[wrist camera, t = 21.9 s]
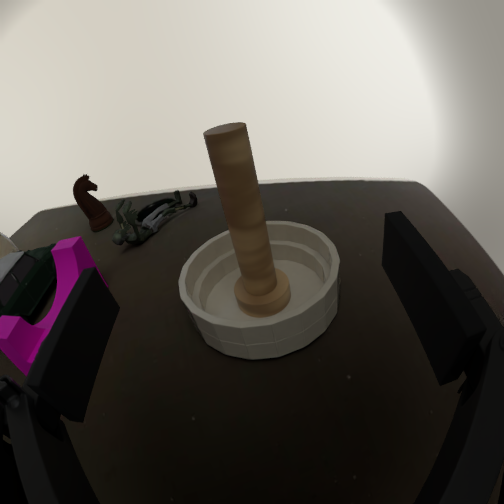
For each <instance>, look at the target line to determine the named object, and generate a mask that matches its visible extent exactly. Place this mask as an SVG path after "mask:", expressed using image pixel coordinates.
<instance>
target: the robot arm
mask: <svg viewBox="0 0 504 504" xmlns="http://www.w3.org/2000/svg"><path fill="white" fill-rule="evenodd" d="M382 266H383V268H384V270H385V272H386V274H387V276H388V277H389V279H390V281H391V283H392V285H393V287H394V289H395V290H396V292H397V294H398V296H399V298H400V300H401V302H402V304H403V306H404V308H405V310H406V312H407V314H408V316H409V318H410V320H411V322H412V324H413V326H414V328H415V330H416V332H417V335H418V337H419V339H420V341H421V343H422V345H423V348H424V350H425V352H426V354H427V357H428V359H429V361H430V363H431V366H432V368H433V370H434V373H435V375H436V378H437V380H438V383H439V385H440V386H441V385H444V384H446V383H449V382H452V381H454V380H456V379H458V378H459V376H460V375H461V373H462V372H463V370H464V372H465V374H466V376H467V378H466V380H465V381H464V382H463V384H462V385H461V387H460V388H459V390H458V392H457V393H459V394H460V392H461V391H462V393H461V396H460V399H459V402H458V405H457V408H456V411H455V414H454V417H453V420H452V422H451V425H450V428H449V430H448V433H447V435H446V438H445V440H444V443H443V445H442V448H441V450H440V452H439V455H438V457H437V459H436V461H435V463H434V465H433V468H432V470H431V472H430V474H429V476H428V478H427V480H426V482H425V484H424V486H423V487H422V489H421V491H420V493H419V495H418V497H417V498H416V500H415V502H414V504H487V503H488V500H489V498H490V495H491V493H492V491H493V488H494V486H495V483H496V480H497V478H498V475H499V472H500V469H501V466H502V463H503V460H504V327H503V326H502V325H501V323H500V322H499V320H498V318H497V317H496V315H495V314H494V312H493V311H492V309H491V308H490V306H489V305H488V303H487V302H486V300H485V299H484V297H482V296H481V293H480V292H479V290H478V289H476V286H475V285H474V283H473V282H472V281H471V279H470V278H469V277H468V276H467V275H466V274H464V273H463V272H462V271H460V270H459V269H455V270H451V271H448V269H447V268H446V267H445V265H444V264H443V262H442V261H441V260H440V259H439V257H438V256H437V255H436V253H435V252H434V251H433V249H432V248H431V247H430V246H429V244H428V243H427V242H426V241H425V239H424V238H423V237H422V236H421V234H420V233H419V232H418V231H417V230H416V228H415V227H414V226H413V225H412V224H411V222H410V221H409V220H408V219H407V218H406V217H405V215H404V214H403V213H402V212H401V211H398V212H392V213H385V225H384V242H383V256H382ZM119 309H120V307H119V305H118V304H117V302H116V301H115V299H114V297H113V296H112V294H111V293H110V291H109V289H108V288H107V286H106V284H105V283H104V281H103V279H102V277H101V276H100V274H99V272H98V270H97V269H96V267H91V268H86V269H83V271H82V272H81V274H80V276H79V278H78V279H77V281H76V283H75V284H74V286H73V288H72V290H71V292H70V293H69V295H68V297H67V299H66V301H65V302H64V304H63V306H62V308H61V310H60V312H59V314H58V316H57V318H56V320H55V322H54V324H53V326H52V328H51V330H50V332H49V334H48V335H47V336H46V337H45V339H44V340H43V341H42V343H41V345H40V347H39V349H38V353H37V354H36V356H35V358H34V359H35V360H33V363H32V365H31V367H30V370H29V372H28V374H27V377H26V379H25V382H24V384H23V386H22V388H21V387H20V386H19V385H18V384H17V383H16V382H15V381H14V380H13V379H12V378H11V377H10V376H8V375H3V376H1V377H0V504H100V503H99V501H98V499H97V497H96V495H95V493H94V491H93V489H92V487H91V485H90V483H89V481H88V479H87V477H86V475H85V473H84V471H83V469H82V467H81V464H80V462H79V460H78V458H77V455H76V453H75V450H74V448H73V446H72V443H71V440H70V438H69V435H68V433H67V430H66V427H65V424H64V423H63V421H62V420H60V416H61V414H62V415H63V416H65V417H66V418H67V419H69V420H70V421H75V422H81V423H83V421H84V417H85V413H86V410H87V406H88V402H89V399H90V395H91V392H92V389H93V385H94V382H95V379H96V375H97V372H98V369H99V366H100V363H101V360H102V357H103V354H104V351H105V348H106V345H107V342H108V339H109V336H110V334H111V331H112V328H113V325H114V323H115V320H116V317H117V315H118V312H119ZM3 434H4V435H5V436H7V437H8V438H10V439H11V444H8V443H7V442H5V441H4V440H3ZM498 504H504V473H503V479H502V485H501V491H500V496H499V500H498Z"/></svg>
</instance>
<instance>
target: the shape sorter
mask: <svg viewBox="0 0 504 504" xmlns="http://www.w3.org/2000/svg"><path fill="white" fill-rule="evenodd" d="M17 251H19V250H18V248H17V247H16V246H15V244H14V243H13V242H12V241H11V240H10V239H9V238H8V237H6V236H5V235H4V234H2V233H0V259H1V258H3V257H4V256H6V255H8V254H10V253H13V252H17Z"/></svg>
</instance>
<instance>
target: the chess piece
mask: <svg viewBox="0 0 504 504" xmlns="http://www.w3.org/2000/svg"><path fill="white" fill-rule="evenodd" d="M88 179H89V176H87V174H86V175H83V176H82V177H80V178H79V179H78V180H77V181H76V182H75V184H74V187H73V194H74V198H75V200H76V202H77V204H78V205H79V207H80V208H81V209H82V211H83V212H84V213H85V215H86V216H87V217H88V219H89V225H90V227H91V230H92V231H93V232H97V231H101V230H103V229H105V228H106V227H108V226H109V225H110V224H111V223H112V222H113V218H112V216H111V214H110V213H109V212H108V211H107V209H106V208H105V207H104V205H103V204H102V203H101V202H100V201H99V200H97V199H96V198H95V197H93V196H92V195H90V194H89V193H88V192H87V191H91V190H93V191H97V189H96V188H97V185H96V184H94V183H92V182H91V181H89V180H88Z"/></svg>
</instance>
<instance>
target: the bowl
mask: <svg viewBox="0 0 504 504" xmlns="http://www.w3.org/2000/svg"><path fill="white" fill-rule="evenodd" d="M266 225H267V231H268V236H269V241H270V246H271V251H272V257H273V262H274V267H275V268H277V269H280V270H282V271H283V272H284V273H285V274H286V275H287V277H288V279H289V284H290V291H291V298H290V301H289V303H288V305H287V306H286V307H285V308H284V309H283V310H282V311H280V312H279V313H277V314H275V315H272V316H269V317H263V318H258V317H251V316H249V315H246V314H245V313H243V312H242V311H241V310H240V308H239V306H238V303H237V300H236V297H235V294H234V285H235V283H236V281H237V280H238V278H239V277H240V276H241V272H240V268H239V265H238V261H237V258H236V254H235V250H234V247H233V243H232V240H231V236H230V232H229V230H228V231H225V232H223V233H221V234H219V235H217V236H216V237H214V238H212V239H210V240H208V241H207V242H206V243H205V244H203V245H202V246H201V247H200V248H198V249H197V250H196V251H195V252H194V253H193V254H192V255H191V257H190V258H189V259H188V261H187V262H186V263H185V265H184V266H183V269H182V272H181V275H180V278H179V281H178V284H179V290H180V297H181V300H182V302H183V304H184V306H185V308H186V310H187V312H188V314H189V316H190V318H191V320H192V322H193V324H194V326H195V328H196V330H197V331H198V333H199V334H200V335H201V337H202V338H203V339H204V341H205V342H206V343H207V344H208V345H210V346H211V347H213V348H215V349H216V350H218V351H220V352H222V353H223V354H225V355H229V356H234V357H239V358H245V359H250V360H254V359H265V358H275V357H280V356H283V355H286V354H288V353H291V352H293V351H296V350H298V349H301V348H303V347H305V346H307V345H308V344H309V343H311V342H312V341H313V340H315V339H316V338H317V337H318V336H320V335H321V334H322V333H324V332H325V331H326V329H327V328H328V326H329V324H330V323H331V321H332V320H333V318H334V317H335V315H336V314H337V310H338V305H339V299H340V259H339V256H338V253H337V250H336V247H335V245H334V244H333V243H332V242H331V241H330V240H329V239H328V238H327V237H326V236H325V235H324V234H323V233H322V232H320V231H318V230H316V229H314V228H312V227H310V226H308V225H304V224H299V223H294V222H289V221H266Z"/></svg>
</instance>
